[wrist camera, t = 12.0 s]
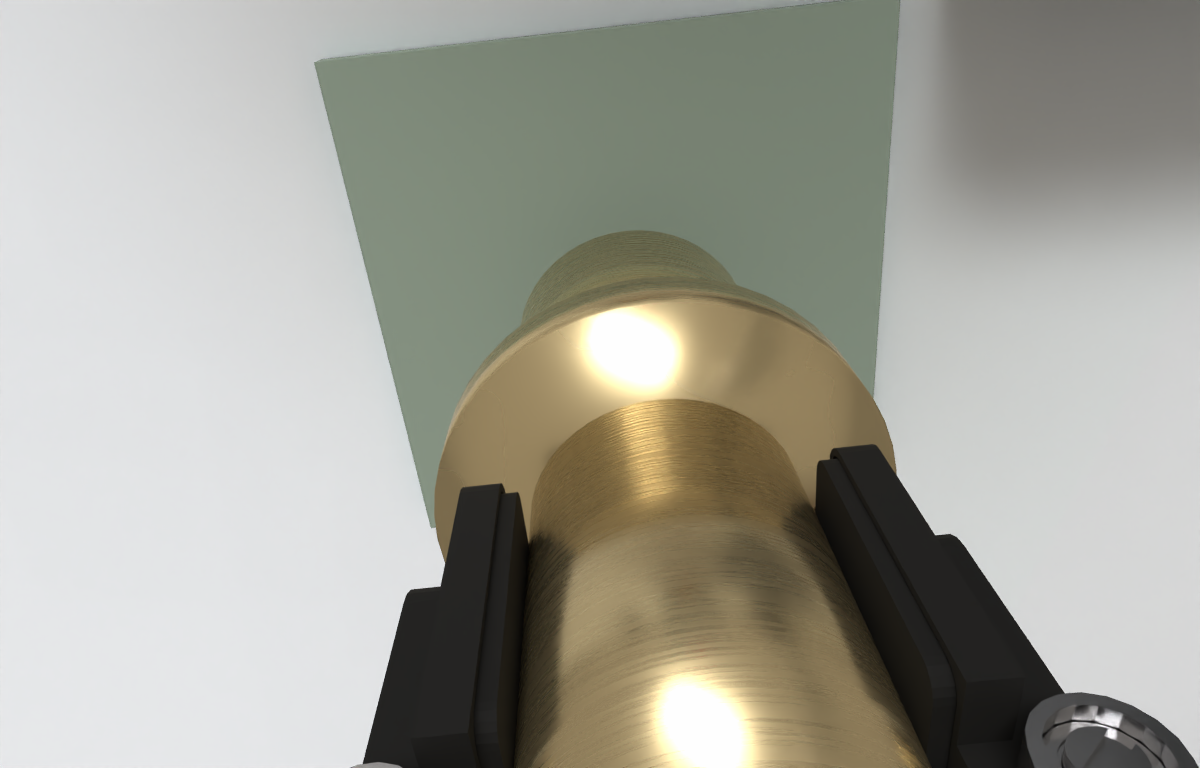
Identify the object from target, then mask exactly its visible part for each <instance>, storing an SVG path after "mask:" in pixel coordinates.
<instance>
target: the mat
mask: <svg viewBox="0 0 1200 768" xmlns="http://www.w3.org/2000/svg"><path fill="white" fill-rule="evenodd" d="M899 12H900V0H843V1H834V2H825V3H816V4H807V5H798V6H790V7H781V8H772V9H763V10H754V11H745V12H737V13H728V14H719V15H710V16H701V17H692V18H683V19H675V20H666V21H657V22H648V23H639V24H630V25H622V26H613V27H604V28H595V29H586V30H577V31H568V32H560V33H551V34H542V35H533V36H524V37H515V38H507V39H498V40H489V41H480V42H471V43H462V44H454V45H445V46H436V47H427V48H418V49H409V50H400V51H392V52H383V53H374V54H365V55H356V56H347V57H339V58H330V59H322V60H319V61H317V62H314V64H315V68H316V72H317V76H318V80H319V84H320V88H321V92H322V96H323V100H324V104H325V108H326V112H327V116H328V120H329V124H330V127H331V131H332V135H333V139H334V143H335V147H336V151H337V155H338V159H339V163H340V167H341V171H342V175H343V179H344V183H345V187H346V191H347V195H348V199H349V203H350V207H351V211H352V215H353V219H354V223H355V227H356V231H357V235H358V239H359V243H360V247H361V251H362V255H363V259H364V263H365V267H366V271H367V275H368V279H369V283H370V287H371V291H372V295H373V299H374V303H375V307H376V311H377V315H378V319H379V323H380V327H381V331H382V335H383V339H384V343H385V347H386V351H387V355H388V359H389V363H390V367H391V371H392V375H393V379H394V383H395V387H396V391H397V395H398V399H399V402H400V406H401V410H402V414H403V418H404V422H405V426H406V430H407V434H408V438H409V442H410V446H411V450H412V454H413V458H414V462H415V466H416V470H417V474H418V478H419V482H420V486H421V490H422V494H423V498H424V502H425V506H426V510H427V514H428V518H429V522H430V526H431V528H435V527H436V524H435V517H434V493H435V485H436V479H437V473H438V468H439V463H440V459H441V455H442V451H443V448H444V444H445V440H446V436H447V432H448V429H449V426H450V423H451V420H452V417H453V414H454V411H455V408H456V405H457V403H458V401H459V399H460V397H461V395H462V393H463V392H464V390H465V388H466V386H467V384H468V382H469V380H470V379H471V378H472V376H473V375H474V373H475V372H476V371H477V369H478V368H479V366H480V365H481V364H482V362H483V361H484V360H485V358H486V357H487V356H488V355H489V354H490V353H491V352H492V351H493V350H494V349H495V348H496V347H497V346H498V345H499V344H500V343H501V342H502V341H503V340H504V339H505V338H506V337H507V336H508V335H510V334H511V333H512V332H513V331H515V330H516V329H517V328H518V327H520V325H521V320H522V316H523V312H524V309H525V306H526V303H527V300H528V298H529V296H530V294H531V292H532V291H533V289H534V287H535V285H536V284H537V282H538V281H539V280H540V278H541V277H542V275H543V274H544V273H545V272H546V271H547V270H548V269H549V268H550V267H551V266H552V265H553V263H554V262H556V261H557V260H558V259H559V258H561V257H562V256H563V255H564V254H566V253H567V252H569V251H570V250H572V249H574V248H575V247H577V246H578V245H580V244H582V243H585V242H587V241H589V240H591V239H594V238H597V237H600V236H603V235H607V234H610V233H616V232H622V231H636V230H644V231H655V232H661V233H665V234H670V235H674V236H676V237H679V238H682V239H685V240H687V241H689V242H691V243H693V244H695V245H697V246H699V247H701V248H702V249H703V250H705V251H706V252H708V253H709V254H710V255H712V256H713V257H714V258H715V259H716V260H717V261H718V262H719V263H720V264H722V265H723V266H724V268H725V269H726V270H727V271H728V273H729V274H730V275H731V277H732V278H733V279H734V281H735V283H736V285H738V286H741V287H744V288H746V289H749V290H752V291H755V292H757V293H760V294H763V295H766V296H768V297H770V298H772V299H774V300H775V301H777V302H779V303H781V304H783V305H785V306H787V307H789V308H791V309H792V310H794V311H795V312H797V313H798V314H799V315H801V316H802V317H804V318H805V319H806V320H808V321H809V322H810V323H812V324H813V325H815V326H816V327H817V328H818V329H819V330H820V331H821V332H822V333H823V334H824V335H825V336H826V337H827V338H828V339H829V340H830V341H831V342H832V343H833V344H834V345H835V346H836V348H837V349H838V350H839V352H840V353H841V354H842V356H843V357H844V358H845V360H846V361H847V363H848V364H849V365H850V367H851V368H852V369H853V371H854V372H855V374H856V375H857V376H858V378H859V379H860V381H861V382H862V383H863V385H864V386H865V388H866V389H867V390H868V392H869V393H870V395H871V396H872V397H873V395H874V380H875V365H876V351H877V336H878V321H879V306H880V292H881V277H882V262H883V247H884V233H885V218H886V203H887V188H888V174H889V159H890V144H891V130H892V115H893V100H894V85H895V71H896V56H897V41H898V26H899Z"/></svg>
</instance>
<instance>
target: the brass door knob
mask: <svg viewBox="0 0 1200 768" xmlns="http://www.w3.org/2000/svg"><path fill="white" fill-rule="evenodd" d="M869 444H874V445H877V447H878V448H879V449H880V450H881V452H882V454H883V455H884V457H885V458H886V460H887V461H888V463H889V464H890V466H891V468H892V469H893V471H894V472H895V474H896V464H895V457H894V451H893V445H892V442H891V439H890V436H889V432H888V429H887V426H886V423H885V420H884V418H883V417H882V415H881V413H880V411H879V409H878V407H877V405H876V403H875V401H874V399H873V397H872V396H871V395H870V393H869V392H868V390H867V389H866V388H865V386H864V385H863V383H862V382H861V381H860V379H859V378H858V376H857V375H856V374H855V372H854V371H853V369H852V368H851V367H850V365H849V364H848V363H847V361H846V360H845V358H844V357H843V356H842V354H841V353H840V352H839V350H838V349H837V348H836V346H835V345H834V344H833V343H832V342H831V341H830V340H829V339H828V338H827V337H826V336H825V335H824V334H823V333H822V332H821V331H820V330H819V329H818V328H817V327H816V326H815V325H813V324H812V323H810V322H809V321H808V320H806V319H805V318H804V317H802V316H801V315H799V314H798V313H797V312H795V311H794V310H792V309H791V308H789V307H787V306H785V305H783V304H781V303H779V302H777V301H775V300H774V299H772V298H770V297H768V296H766V295H763V294H760V293H757V292H755V291H752V290H749V289H746V288H744V287H741V286H738V285H736V283H735V281H734V279H733V278H732V277H731V275H730V274H729V273H728V271H727V270H726V269H725V268H724V266H723V265H722V264H720V263H719V262H718V261H717V260H716V259H715V258H714V257H713V256H712V255H710V254H709V253H708V252H706V251H705V250H703V249H702V248H701V247H699V246H697V245H695V244H693V243H691V242H689V241H687V240H685V239H682V238H679V237H676V236H674V235H670V234H665V233H661V232H655V231H644V230H636V231H622V232H616V233H610V234H607V235H603V236H600V237H597V238H594V239H591V240H589V241H587V242H585V243H582V244H580V245H578V246H577V247H575V248H574V249H572V250H570V251H569V252H567V253H566V254H564V255H563V256H562V257H561V258H559V259H558V260H557V261H556V262H554V263H553V265H552V266H551V267H550V268H549V269H548V270H547V271H546V272H545V273H544V274H543V275H542V277H541V278H540V280H539V281H538V282H537V284H536V285H535V287H534V289H533V291H532V292H531V294H530V296H529V298H528V300H527V303H526V306H525V309H524V312H523V316H522V320H521V325H520V327H518V328H517V329H516V330H515V331H513V332H512V333H511V334H510V335H508V336H507V337H506V338H505V339H504V340H503V341H502V342H501V343H500V344H499V345H498V346H497V347H496V348H495V349H494V350H493V351H492V352H491V353H490V354H489V355H488V356H487V357H486V358H485V360H484V361H483V362H482V364H481V365H480V366H479V368H478V369H477V371H476V372H475V373H474V375H473V376H472V378H471V379H470V380H469V382H468V384H467V386H466V388H465V390H464V392H463V393H462V395H461V397H460V399H459V401H458V403H457V405H456V408H455V411H454V414H453V417H452V420H451V423H450V426H449V429H448V432H447V436H446V440H445V444H444V448H443V451H442V455H441V459H440V463H439V468H438V473H437V479H436V485H435V493H434V517H435V524H436V531H437V537H438V542H439V545H440V548H441V551H442V554H443V558H444V561H445V563H446V558H447V553H448V548H449V543H450V538H451V533H452V528H453V523H454V518H455V513H456V508H457V504H458V499H459V494H460V490H461V488H462V487H469V486H479V485H488V484H498V483H502V484H503V486H504V489H505V493H513V492H518V493H519V495H520V499H521V504H522V510H523V515H524V521H525V526H526V532H527V537H528V543H529V549H528V564H527V579H526V593H525V608H524V623H523V638H522V652H521V667H520V682H519V697H518V711H517V726H516V741H515V755H514V768H932V767H931V765H930V763H929V761H928V759H927V757H926V754H925V752H924V750H923V748H922V746H921V743H920V741H919V739H918V737H917V735H916V732H915V730H914V728H913V726H912V724H911V722H910V719H909V717H908V715H907V713H906V711H905V708H904V706H903V704H902V702H901V700H900V697H899V695H898V693H897V691H896V689H895V687H894V684H893V682H892V680H891V678H890V676H889V673H888V671H887V669H886V667H885V665H884V662H883V660H882V658H881V656H880V654H879V652H878V649H877V647H876V645H875V643H874V641H873V638H872V636H871V634H870V632H869V630H868V627H867V625H866V623H865V621H864V619H863V617H862V614H861V612H860V610H859V608H858V606H857V603H856V601H855V599H854V597H853V595H852V592H851V590H850V588H849V586H848V584H847V582H846V579H845V577H844V575H843V573H842V571H841V568H840V566H839V564H838V562H837V560H836V557H835V555H834V553H833V551H832V549H831V547H830V544H829V542H828V540H827V538H826V536H825V533H824V531H823V529H822V527H821V525H820V522H819V520H818V518H817V516H816V514H815V503H816V471H817V464H818V461H819V460H828V459H830V453H831V450H832V449H833V448H840V447H850V446H859V445H869Z"/></svg>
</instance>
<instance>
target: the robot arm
mask: <svg viewBox="0 0 1200 768" xmlns="http://www.w3.org/2000/svg"><path fill="white" fill-rule="evenodd" d="M815 514H816V516H817V518H818V520H819V522H820V525H821V527H822V529H823V531H824V533H825V536H826V538H827V540H828V542H829V544H830V547H831V549H832V551H833V553H834V555H835V557H836V560H837V562H838V564H839V566H840V568H841V571H842V573H843V575H844V577H845V579H846V582H847V584H848V586H849V588H850V590H851V592H852V595H853V597H854V599H855V601H856V603H857V606H858V608H859V610H860V612H861V614H862V617H863V619H864V621H865V623H866V625H867V627H868V630H869V632H870V634H871V636H872V638H873V641H874V643H875V645H876V647H877V649H878V652H879V654H880V656H881V658H882V660H883V662H884V665H885V667H886V669H887V671H888V673H889V676H890V678H891V680H892V682H893V684H894V687H895V689H896V691H897V693H898V695H899V697H900V700H901V702H902V704H903V706H904V708H905V711H906V713H907V715H908V717H909V719H910V722H911V724H912V726H913V728H914V730H915V732H916V735H917V737H918V739H919V741H920V743H921V746H922V748H923V750H924V752H925V754H926V757H927V759H928V761H929V763H930V765H931V767H932V768H1199V767H1198V766H1197V764H1196V762H1195V760H1194V758H1193V757H1192V756H1191V754H1190V753H1189V752H1188V750H1187V749H1186V748H1185V746H1184V745H1183V744H1182V742H1181V741H1180V740H1179V738H1178V737H1176V736H1175V735H1174V734H1173V733H1172V732H1171V731H1169V730H1168V729H1167V728H1166V727H1165V726H1164V725H1162V724H1161V723H1160V722H1159V721H1158V720H1156V719H1155V718H1153V717H1151V716H1149V715H1148V714H1146V713H1144V712H1142V711H1141V710H1139V709H1137V708H1136V707H1134V706H1132V705H1129V704H1126V703H1124V702H1121V701H1118V700H1115V699H1112V698H1110V697H1107V696H1101V695H1095V694H1088V693H1082V692H1080V693H1066V694H1065V693H1064V692H1063V690H1062V689H1061V687H1060V686H1059V684H1058V683H1057V681H1056V680H1055V678H1054V677H1053V676H1052V674H1051V673H1050V671H1049V670H1048V668H1047V667H1046V665H1045V664H1044V662H1043V661H1042V659H1041V658H1040V656H1039V655H1038V653H1037V652H1036V651H1035V649H1034V648H1033V646H1032V645H1031V643H1030V642H1029V640H1028V639H1027V637H1026V636H1025V634H1024V633H1023V631H1022V630H1021V629H1020V627H1019V626H1018V624H1017V623H1016V621H1015V620H1014V618H1013V617H1012V615H1011V614H1010V612H1009V611H1008V609H1007V608H1006V606H1005V605H1004V604H1003V602H1002V601H1001V599H1000V598H999V596H998V595H997V593H996V592H995V590H994V589H993V587H992V586H991V584H990V583H989V582H988V580H987V579H986V577H985V576H984V574H983V573H982V571H981V570H980V568H979V567H978V565H977V564H976V562H975V561H974V559H973V558H972V557H971V555H970V554H969V552H968V551H967V549H966V548H965V546H964V545H963V544H962V543H961V541H960V540H959V539H958V538H957V537H955V536H953V535H951V534H946V535H936V536H935V535H934V533H933V531H932V530H931V528H930V527H929V525H928V524H927V522H926V521H925V519H924V517H923V516H922V514H921V513H920V511H919V510H918V508H917V507H916V505H915V503H914V502H913V500H912V499H911V497H910V496H909V494H908V492H907V491H906V489H905V488H904V486H903V485H902V483H901V482H900V480H899V478H898V477H897V475H896V474H895V472H894V471H893V469H892V468H891V466H890V464H889V463H888V461H887V460H886V458H885V457H884V455H883V454H882V452H881V450H880V449H879V448H878V447H877V445H874V444H869V445H859V446H850V447H840V448H833V449H832V450H831V453H830V459H828V460H819V461H818V464H817V471H816V503H815ZM528 549H529V543H528V537H527V532H526V526H525V521H524V515H523V510H522V504H521V499H520V495H519V493H518V492H513V493H505V489H504V486H503V484H502V483H498V484H488V485H479V486H469V487H462V488H461V490H460V494H459V499H458V504H457V508H456V513H455V518H454V523H453V528H452V533H451V538H450V543H449V548H448V553H447V558H446V563H445V568H444V573H443V578H442V583H441V587H432V588H423V589H413V590H410V591H409V592H408V593H407V595H406V598H405V601H404V604H403V608H402V612H401V616H400V620H399V623H398V627H397V631H396V635H395V639H394V643H393V647H392V651H391V655H390V659H389V663H388V667H387V671H386V674H385V678H384V682H383V686H382V690H381V694H380V698H379V702H378V706H377V710H376V714H375V718H374V722H373V725H372V729H371V733H370V737H369V741H368V745H367V749H366V753H365V757H364V761H363V764H360V765H356V766H353V767H351V768H514V755H515V741H516V726H517V711H518V697H519V682H520V667H521V652H522V638H523V623H524V608H525V593H526V579H527V564H528Z"/></svg>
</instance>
